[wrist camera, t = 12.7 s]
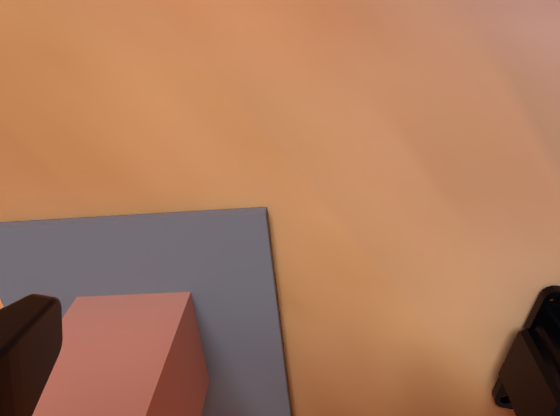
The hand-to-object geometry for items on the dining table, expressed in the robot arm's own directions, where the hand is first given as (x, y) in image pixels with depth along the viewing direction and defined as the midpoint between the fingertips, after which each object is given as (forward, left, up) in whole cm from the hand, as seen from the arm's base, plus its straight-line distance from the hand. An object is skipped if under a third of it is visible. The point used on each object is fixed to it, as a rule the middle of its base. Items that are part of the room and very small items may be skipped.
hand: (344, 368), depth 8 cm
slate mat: (+6, +11, -12) cm, 17 cm away
